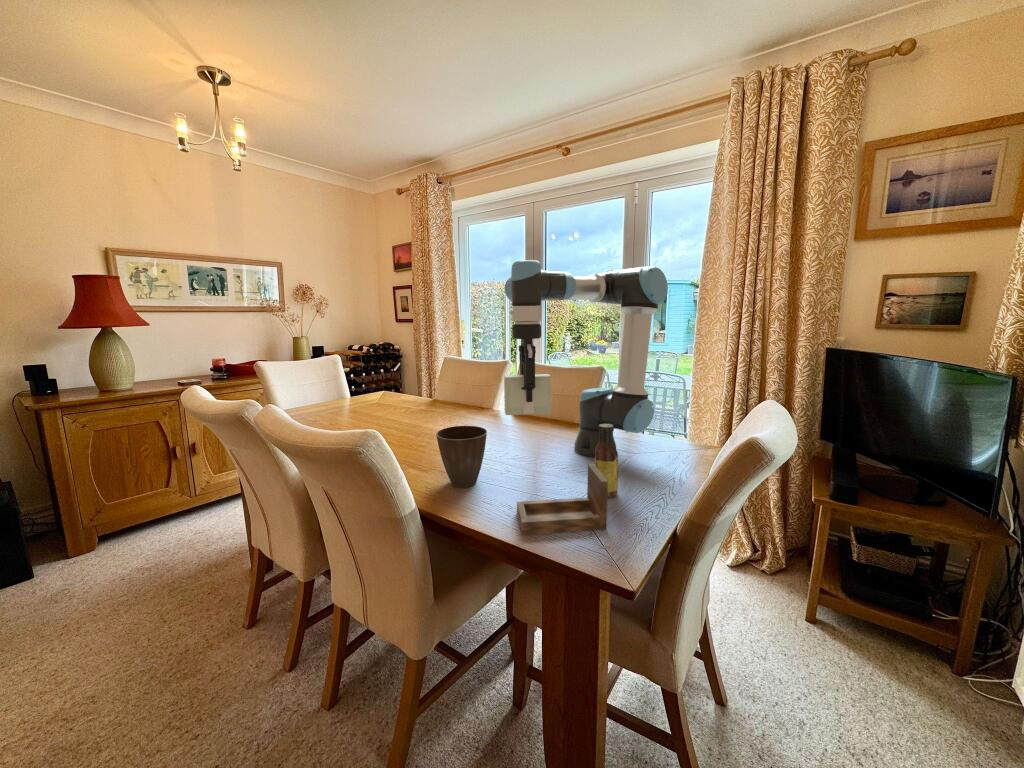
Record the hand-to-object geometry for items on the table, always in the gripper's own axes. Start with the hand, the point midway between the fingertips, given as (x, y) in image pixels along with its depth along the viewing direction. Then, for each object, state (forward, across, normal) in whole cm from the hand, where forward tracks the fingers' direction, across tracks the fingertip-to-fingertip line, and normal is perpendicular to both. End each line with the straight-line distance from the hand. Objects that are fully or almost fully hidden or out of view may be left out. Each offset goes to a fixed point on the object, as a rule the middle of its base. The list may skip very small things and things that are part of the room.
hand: (527, 411), depth 109 cm
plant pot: (+25, -12, -18) cm, 33 cm away
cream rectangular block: (0, 0, 0) cm, 0 cm away
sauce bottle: (+25, +1, +22) cm, 33 cm away
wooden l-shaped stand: (+25, +14, +6) cm, 29 cm away
